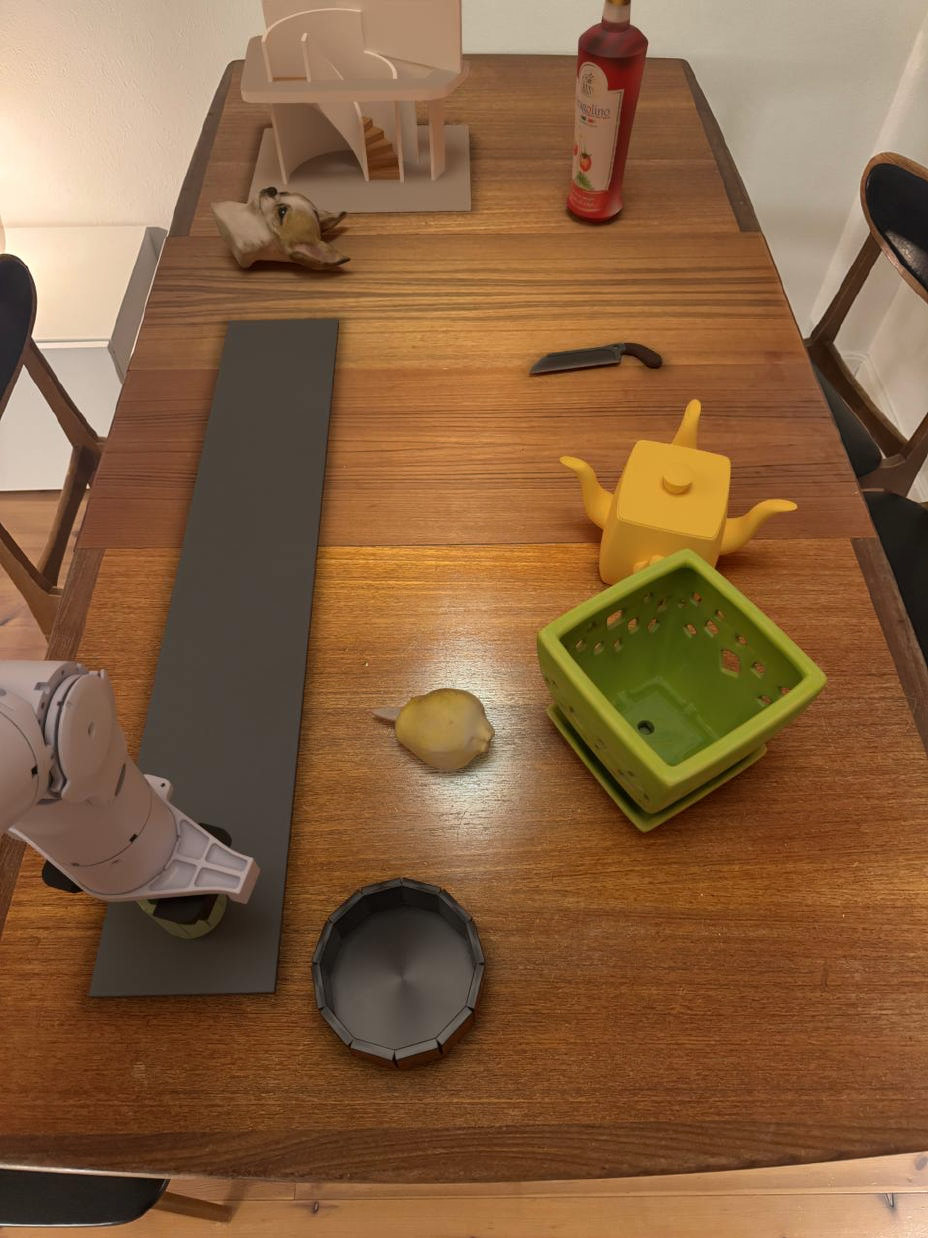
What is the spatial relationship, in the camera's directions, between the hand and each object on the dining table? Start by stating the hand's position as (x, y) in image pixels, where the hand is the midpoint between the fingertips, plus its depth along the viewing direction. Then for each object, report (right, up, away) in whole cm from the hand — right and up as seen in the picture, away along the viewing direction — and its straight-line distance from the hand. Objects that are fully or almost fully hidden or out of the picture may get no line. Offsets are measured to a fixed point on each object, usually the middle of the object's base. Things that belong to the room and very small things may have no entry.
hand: (172, 893), depth 55 cm
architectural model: (+5, +76, +59) cm, 96 cm away
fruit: (+16, +8, +12) cm, 21 cm away
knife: (+32, +44, +36) cm, 65 cm away
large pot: (+14, -6, +2) cm, 16 cm away
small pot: (0, -2, +4) cm, 5 cm away
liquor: (+34, +67, +52) cm, 92 cm away
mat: (-1, +21, +21) cm, 30 cm away
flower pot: (+33, +8, +11) cm, 35 cm away
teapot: (+36, +23, +22) cm, 48 cm away
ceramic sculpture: (-2, +60, +48) cm, 76 cm away
